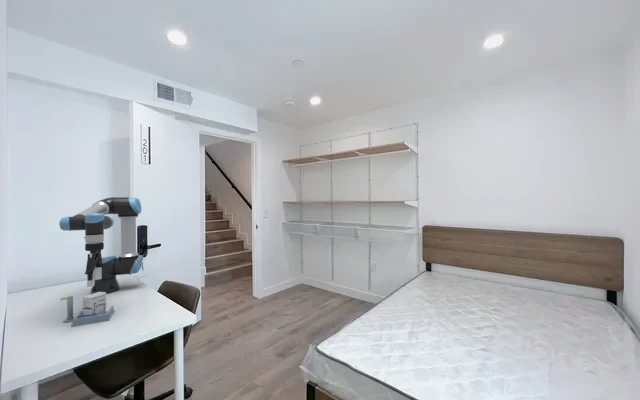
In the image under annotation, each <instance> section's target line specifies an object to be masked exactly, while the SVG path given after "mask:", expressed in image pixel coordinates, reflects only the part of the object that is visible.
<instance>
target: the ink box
mask: <svg viewBox="0 0 640 400" xmlns="http://www.w3.org/2000/svg"><path fill="white" fill-rule="evenodd" d="M82 311H83V317H89V316H95V315H102V314H106V311H107V294H106V292H97V293H93V294H91V293H90V294H88V295H87V294H86V295H84V296H83V297H82Z"/></svg>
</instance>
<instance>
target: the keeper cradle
mask: <svg viewBox="0 0 640 400" xmlns="http://www.w3.org/2000/svg"><path fill="white" fill-rule="evenodd" d="M64 300H67V301H66V303H67V305H66V308H67V310H66V318H65V319H64V321H63V323H62V324H64V323H65V324H66V323H72V324H70V327H72V328H74V327H79V326H85V325H90V324H91V325H92V324H96V323H102V322H108V321H110V320H111V319H112V317H113V315H114V313H115V312H116V310H115V309H114V307H115V306H113V305H112V306H110V308H109V309H108V310H106V314H102V315H95V316H89V317H83V310H80V311H79V312H78V313H77V314H76V315H75V316H74V295H68V296H65V297H60V301H64Z"/></svg>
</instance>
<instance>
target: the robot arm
mask: <svg viewBox="0 0 640 400" xmlns="http://www.w3.org/2000/svg"><path fill="white" fill-rule="evenodd" d="M141 213H142V205H141V201H140V200H139V198H138V197H132V196H127V197H125V196H124V197H123V196H121V197H118V196H117V197H116V196H115V197H114V196H113V197H105V198H102V199H101V200H98V201H96V202H94V203H93V204H92V205H91V206H90V207H88V208H86V209H85V210H82V211H81V212H78V213H77V214H74V215H72V216H64V217H62V218H60V220H59V224H58V225H59V229H60V230H62V231H69V232H72V231H85V233H84V235H85V236H84V237H83V239H84V240H85V241H84V242H85V244H84V251H86V252H89V253H88V254H87V260H86V266H85V267H86V269H85V272H84V275H86V287H87V288H90V287H91V290H90V294H93V293H97V292H106V295H107V294H110V293H114V292H117V291H119V290H120V284H119V282H118V280H117V276H122V275H134V274H137V273H139V272H140V270H141V267H142V266H143V265H142V264H143V257H142V256H140V254H139V253H138V251H137V224H136V223H137V218H138V217H139V214H141ZM109 215H117V218H119V219H120V249H121V250H120V254H119V255H118V257H117V256H116V255H109V256H104V257H102V250H104V249H105V247H104V245H105V244H104V241H105V233H104V231H105V230H108V229H110V228H112V227H113V226H114V223H115V220H114V219H113V217H111V216H109Z"/></svg>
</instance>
